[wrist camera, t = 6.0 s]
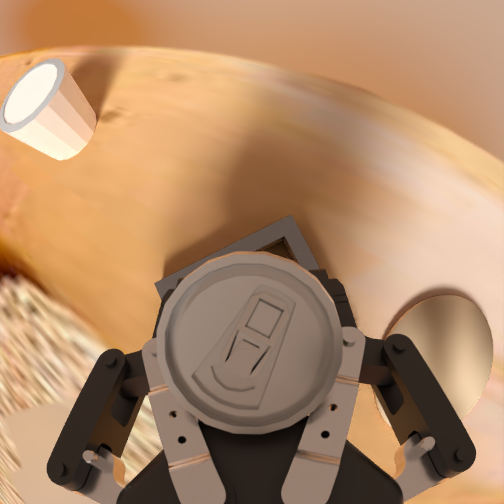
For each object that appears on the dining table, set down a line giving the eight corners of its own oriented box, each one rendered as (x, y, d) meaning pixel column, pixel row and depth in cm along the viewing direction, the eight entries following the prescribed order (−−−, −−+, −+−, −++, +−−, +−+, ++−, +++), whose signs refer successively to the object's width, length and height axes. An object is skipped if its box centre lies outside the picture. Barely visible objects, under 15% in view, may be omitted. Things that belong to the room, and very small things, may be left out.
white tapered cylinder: (39, 176, 22) (-10, 146, 15) (47, 115, 23) (8, 79, 16) (101, 153, 22) (55, 110, 15) (105, 91, 23) (71, 44, 16)
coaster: (464, 268, 19) (468, 267, 19) (499, 380, 18) (503, 381, 17) (348, 346, 19) (351, 347, 18) (399, 459, 17) (401, 462, 17)
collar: (289, 220, 20) (291, 214, 19) (353, 347, 19) (360, 351, 17) (161, 284, 20) (154, 283, 18) (225, 409, 19) (222, 417, 17)
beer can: (239, 262, 20) (205, 209, 8) (313, 299, 19) (385, 301, 8) (201, 335, 19) (119, 381, 7) (274, 372, 19) (289, 467, 7)
